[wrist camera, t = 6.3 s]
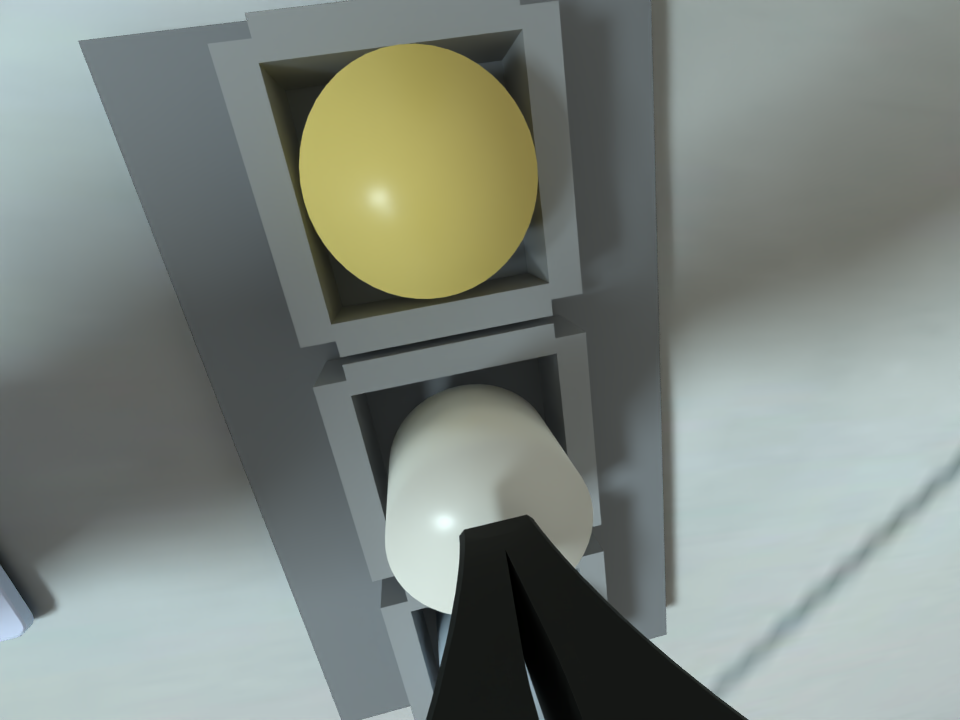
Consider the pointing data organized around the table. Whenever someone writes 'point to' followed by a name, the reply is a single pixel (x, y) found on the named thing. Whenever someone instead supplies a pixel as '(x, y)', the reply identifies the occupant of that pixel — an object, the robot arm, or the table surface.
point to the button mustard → (418, 171)
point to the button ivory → (475, 485)
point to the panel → (401, 320)
